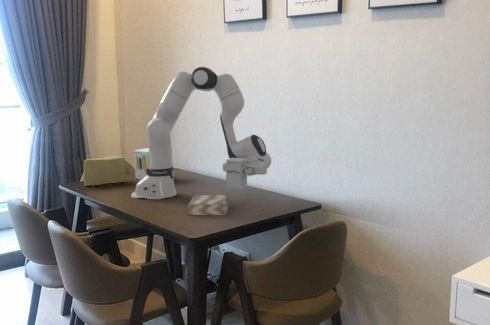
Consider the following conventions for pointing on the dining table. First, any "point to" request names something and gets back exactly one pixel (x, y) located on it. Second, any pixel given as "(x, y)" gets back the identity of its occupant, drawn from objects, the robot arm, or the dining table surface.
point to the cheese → (104, 170)
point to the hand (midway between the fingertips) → (235, 170)
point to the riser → (208, 205)
